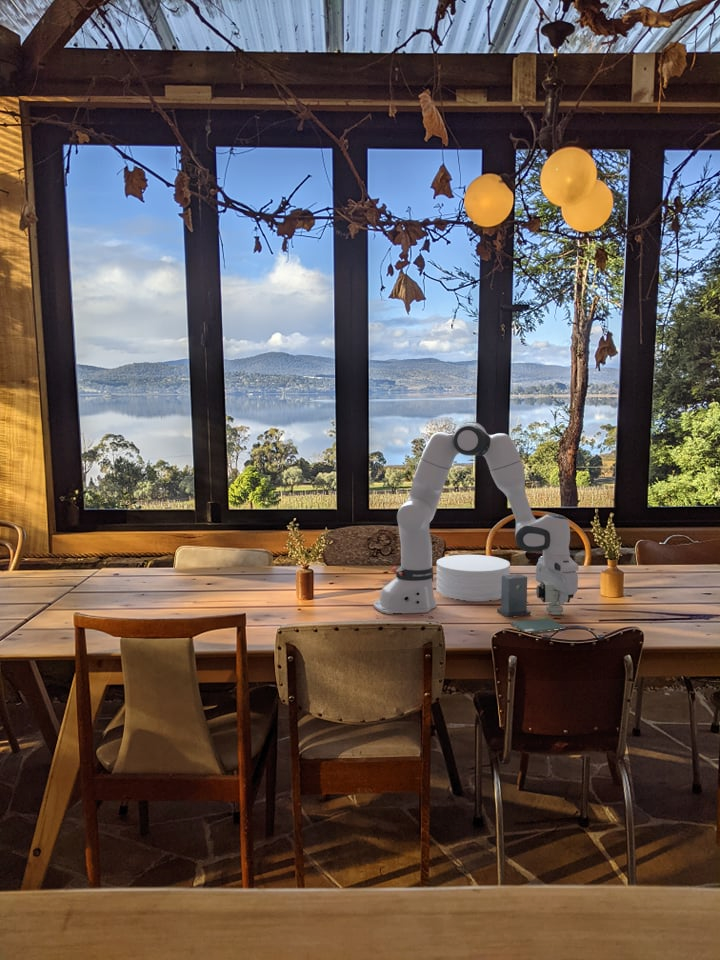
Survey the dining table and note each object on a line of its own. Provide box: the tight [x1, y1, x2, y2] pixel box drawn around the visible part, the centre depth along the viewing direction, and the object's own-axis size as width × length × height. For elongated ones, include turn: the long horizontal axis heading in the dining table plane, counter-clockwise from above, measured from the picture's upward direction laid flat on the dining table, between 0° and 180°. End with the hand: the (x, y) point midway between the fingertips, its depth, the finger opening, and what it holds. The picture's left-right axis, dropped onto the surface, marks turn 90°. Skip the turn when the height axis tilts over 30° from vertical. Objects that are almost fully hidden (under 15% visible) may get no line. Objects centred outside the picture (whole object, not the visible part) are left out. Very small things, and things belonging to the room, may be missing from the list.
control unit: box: [496, 573, 532, 618], centre depth 233 cm, size 9×7×13 cm
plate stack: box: [435, 554, 511, 602], centre depth 263 cm, size 28×28×12 cm
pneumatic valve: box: [535, 581, 575, 616], centre depth 233 cm, size 6×12×12 cm, turn 87°
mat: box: [510, 617, 565, 634], centre depth 220 cm, size 14×10×1 cm
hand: (554, 600), depth 233 cm, fingers closed on pneumatic valve, 6 cm apart
